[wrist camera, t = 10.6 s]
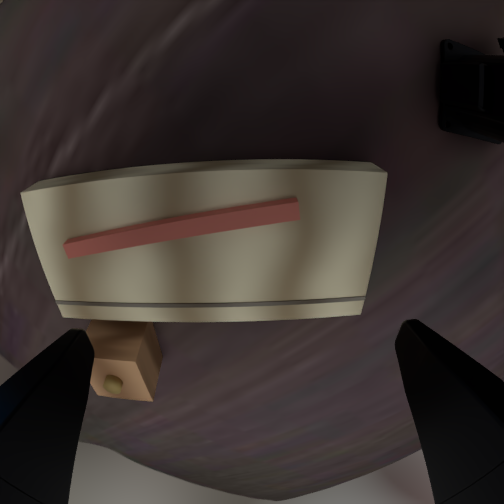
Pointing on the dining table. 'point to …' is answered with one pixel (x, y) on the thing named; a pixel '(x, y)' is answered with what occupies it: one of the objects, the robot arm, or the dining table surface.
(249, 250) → the plank
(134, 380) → the block
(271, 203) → the carpenter pencil
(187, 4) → the dining table surface
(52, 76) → the dining table surface
